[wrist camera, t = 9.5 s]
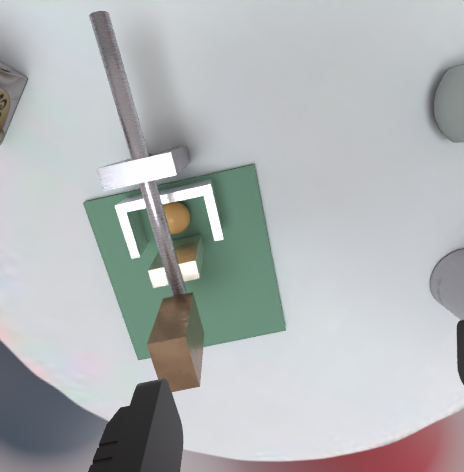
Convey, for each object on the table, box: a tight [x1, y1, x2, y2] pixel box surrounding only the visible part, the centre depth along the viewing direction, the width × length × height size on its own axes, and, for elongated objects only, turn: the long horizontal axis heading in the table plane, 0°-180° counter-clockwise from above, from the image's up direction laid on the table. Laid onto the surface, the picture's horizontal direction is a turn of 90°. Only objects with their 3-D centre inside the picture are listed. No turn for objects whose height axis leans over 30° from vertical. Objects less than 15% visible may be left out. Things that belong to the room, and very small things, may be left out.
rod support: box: [97, 146, 190, 191], centre depth 36 cm, size 7×2×14 cm, turn 102°
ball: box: [163, 202, 190, 234], centre depth 42 cm, size 4×4×4 cm
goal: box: [115, 179, 223, 259], centre depth 41 cm, size 11×6×5 cm, turn 102°
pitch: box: [83, 164, 286, 360], centre depth 47 cm, size 22×24×1 cm
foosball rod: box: [89, 11, 204, 392], centre depth 33 cm, size 5×31×18 cm, turn 12°
